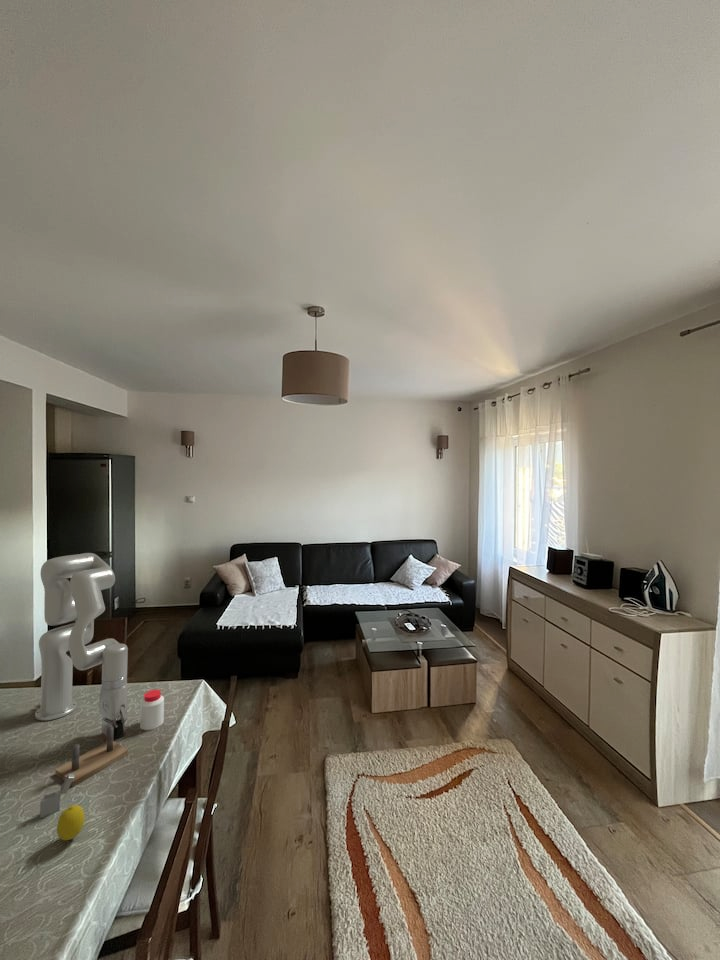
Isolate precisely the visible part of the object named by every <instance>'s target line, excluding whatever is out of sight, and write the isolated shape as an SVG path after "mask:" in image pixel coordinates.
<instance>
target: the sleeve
mask: <svg viewBox="0 0 720 960" xmlns="http://www.w3.org/2000/svg"><path fill="white" fill-rule="evenodd" d="M119 715H120V714H119ZM119 720H120V718H118V719H117V722H118V721H119ZM109 727H114V721H112V720H110V719H108V718H104V719H103V718H102V719H101V738H103V739H104V740H106V741H107V728H109ZM125 727H126V721H125V722H124V724H123V735H122V736H124V735H125V734H126V733H125V732H126V729H125ZM113 741H115V739H113Z"/></svg>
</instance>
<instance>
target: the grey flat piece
mask: <svg viewBox="0 0 720 960" xmlns="http://www.w3.org/2000/svg"><path fill="white" fill-rule="evenodd" d="M73 779H74V774H68V776H67V778H66V779H65V781H64V780H63V784H62V786H61V788H59V790H58V791H56V789H53V790H50V791H47V792H46V793H45V795H43V796H41V797H40V801H39V802H40V804H39V805H40V808H39V812H40V813H39V819H43V818H45V817H47V816H49V815H52V814H54V813H57V812H59V811H61V795H66V794H67V792H68V791H69V789H70V787H71V786H70V785H71V783H72V781H73Z"/></svg>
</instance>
